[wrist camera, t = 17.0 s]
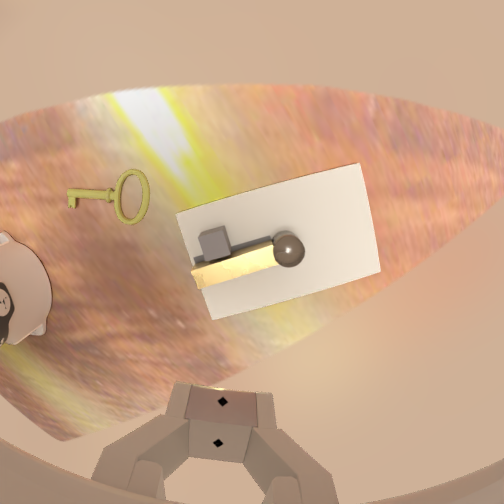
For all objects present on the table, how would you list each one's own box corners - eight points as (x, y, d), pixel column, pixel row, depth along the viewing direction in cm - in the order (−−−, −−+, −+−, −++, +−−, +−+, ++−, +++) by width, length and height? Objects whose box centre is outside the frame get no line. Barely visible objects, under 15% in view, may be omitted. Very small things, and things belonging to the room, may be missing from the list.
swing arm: (295, 226, 37) (300, 232, 34) (302, 253, 38) (308, 261, 35) (193, 259, 38) (188, 268, 35) (203, 284, 39) (199, 296, 36)
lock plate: (213, 316, 42) (210, 331, 38) (177, 212, 38) (169, 217, 34) (377, 269, 41) (390, 279, 37) (356, 163, 37) (369, 162, 33)
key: (70, 189, 37) (62, 190, 35) (146, 165, 37) (140, 165, 35) (81, 237, 39) (74, 240, 37) (157, 218, 39) (152, 221, 37)
